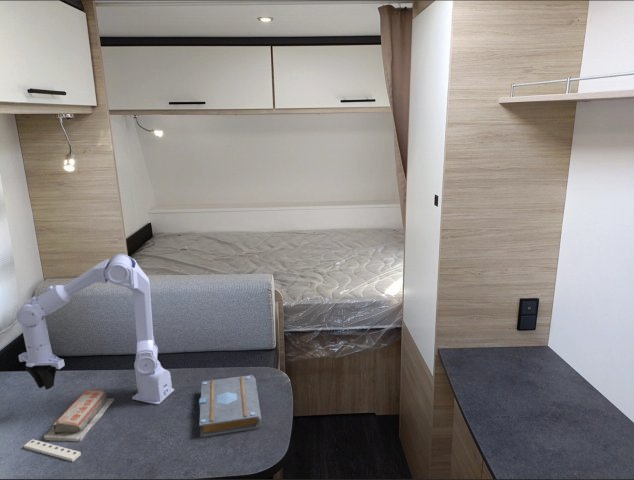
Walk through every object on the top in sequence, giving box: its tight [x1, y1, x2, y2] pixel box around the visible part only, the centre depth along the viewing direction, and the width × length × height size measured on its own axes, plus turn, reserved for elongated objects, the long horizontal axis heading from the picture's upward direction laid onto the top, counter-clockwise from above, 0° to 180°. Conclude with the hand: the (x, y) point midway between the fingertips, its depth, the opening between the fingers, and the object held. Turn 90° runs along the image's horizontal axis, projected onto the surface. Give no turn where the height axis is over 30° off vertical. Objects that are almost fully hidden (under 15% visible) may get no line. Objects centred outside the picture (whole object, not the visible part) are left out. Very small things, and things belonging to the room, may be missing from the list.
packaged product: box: [43, 389, 115, 442], centre depth 128 cm, size 18×5×10 cm
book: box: [198, 374, 263, 438], centre depth 131 cm, size 21×16×5 cm
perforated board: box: [23, 439, 82, 462], centre depth 116 cm, size 16×2×1 cm, turn 71°
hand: (46, 386), depth 129 cm, fingers open, 2 cm apart
